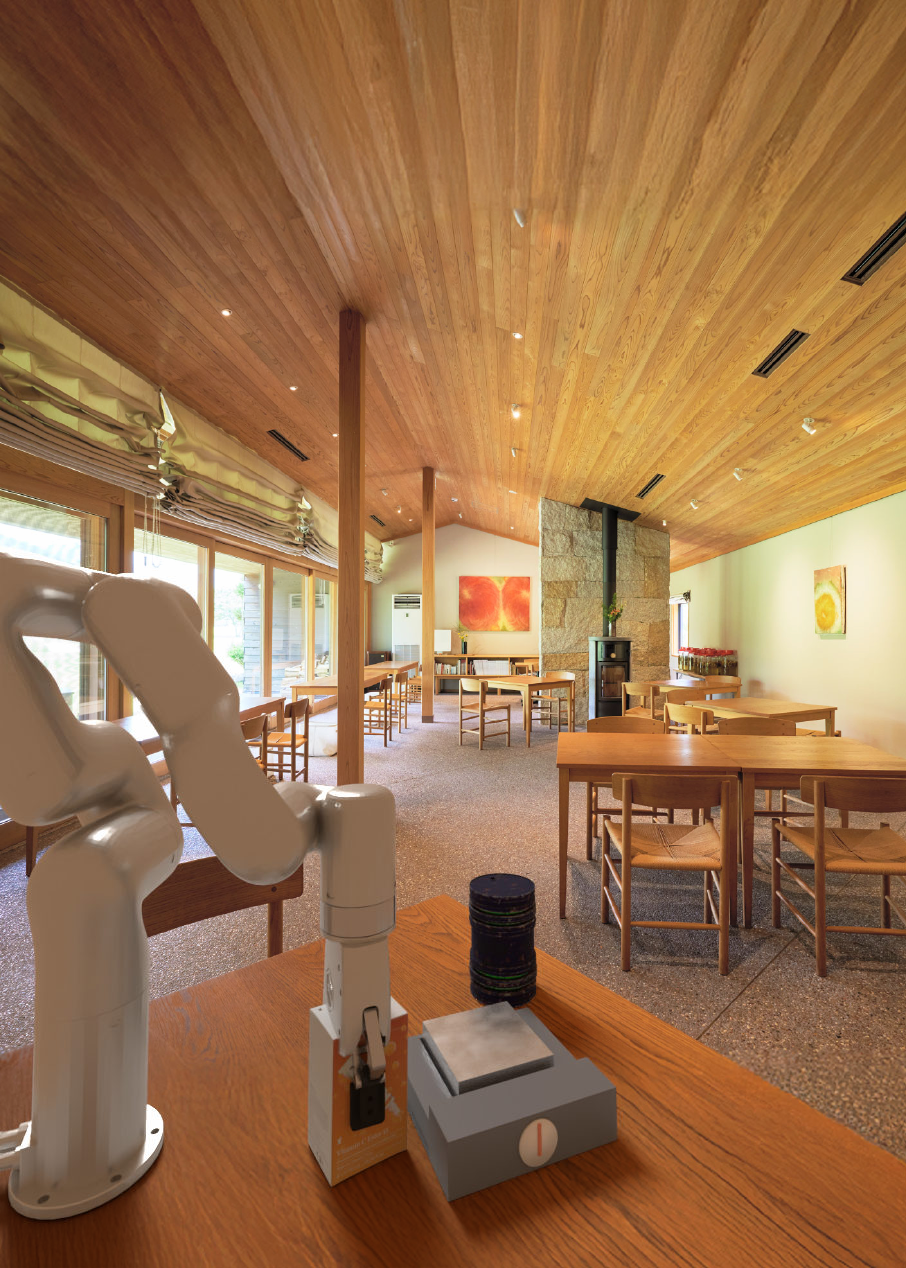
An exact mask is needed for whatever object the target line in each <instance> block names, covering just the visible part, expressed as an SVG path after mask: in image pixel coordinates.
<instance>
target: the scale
mask: <svg viewBox="0 0 906 1268" xmlns="http://www.w3.org/2000/svg"><path fill="white" fill-rule="evenodd" d="M514 1010H515V1011H516V1012H517V1013H518V1015H519V1016H520V1017H521V1018H522V1019H523V1020H524V1021H525V1022H526V1024H527V1025H528V1026H529V1027H530V1028H531V1029H532V1030H533V1032H534V1033H535V1034H536V1035H537V1036H538V1037H539V1038H540V1039H541V1041H542V1042H543V1043H544V1044H545V1045H546V1046H547V1047H548V1049H549V1050H550V1051H551V1052H552V1053H553V1054H554V1067H551V1068H548V1069H545V1070H541V1071H538V1072H535V1073H531V1074H528V1075H524V1076H521V1077H518V1078H514V1079H511V1080H508V1081H504V1082H501V1083H498V1084H494V1085H491V1086H488V1087H484V1088H481V1089H477V1090H474V1091H471V1092H467V1093H464V1094H461V1095H457V1096H454V1097H452V1096H451V1094H450V1092H449V1091H448V1089H447V1087H446V1085H445V1083H444V1082H443V1080H442V1078H441V1076H440V1074H439V1073H438V1071H437V1069H436V1067H435V1065H434V1064H433V1062H432V1060H431V1058H430V1056H429V1055H428V1053H427V1051H426V1049H425V1048H424V1046H423V1033H420V1034H416V1035H412V1036H408V1101H407V1113H408V1114H409V1116H410V1119H411V1120H412V1123H413V1125H414V1127H415V1131H416V1132H417V1135H418V1136H419V1138H420V1140H421V1144H422V1146H423V1148H424V1150H425V1152H426V1154H427V1157H428V1159H429V1161H430V1164H431V1166H432V1168H433V1171H434V1172H435V1175H436V1177H437V1180H438V1182H439V1184H440V1186H441V1189H442V1190H443V1194H444V1195H445V1198H446V1200H447V1202H448V1203H449V1202H452V1201H454V1200H455V1201H456V1200H457V1199H460V1198H462V1197H465V1196H467V1195H468V1196H469V1195H471V1194H473V1193H474V1194H475V1193H476V1192H480V1191H482V1190H484V1189H487V1188H490V1187H493V1186H495V1185H498V1184H501V1183H504V1182H507V1181H508V1180H512V1179H514V1178H517V1177H520V1176H523V1175H525V1174H528V1173H531V1172H534V1171H536V1170H539V1169H542V1168H545V1167H547V1166H550V1165H553V1164H555V1163H559V1162H560V1161H564V1160H566V1159H569V1158H572V1157H574V1156H577V1155H579V1154H580V1155H581V1154H582V1153H585V1152H588V1151H591V1150H593V1149H597V1148H598V1147H601V1146H605V1145H607V1144H610V1143H612V1142H615V1141H617V1140H618V1114H617V1113H618V1109H617V1108H618V1107H617V1106H618V1104H617V1086H616V1085H614V1084H613V1082H612V1081H611V1080H610V1079H609V1078H608V1077H607V1076H606V1075H605V1074H604V1073H603V1072H602V1071H601V1070H600V1069H599V1068H598V1067H597V1066H596V1064H594V1062H593V1061H592V1060H590V1059H589V1057H588V1056H586V1057H582V1058H579V1059H576V1058H575V1056H574V1055H573V1054H572V1053H571V1052H570V1051H569V1050H568V1049H567V1048H566V1047H565V1045H564V1044H563V1043H562V1042H561V1041H560V1040H559V1039H558V1038H557V1037H556V1036H555V1035H554V1034H553V1033H552V1032H551V1031H550V1029H548V1027H547V1026H546V1025H545V1024H544V1023H543V1022H542V1021H541V1020H540V1018H538V1017H537V1016H536V1014H535V1013H533V1011H532V1010H531V1009H530V1008H529V1007H524V1008H519V1009H514Z"/></svg>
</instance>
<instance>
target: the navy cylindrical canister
mask: <svg viewBox="0 0 906 1268" xmlns="http://www.w3.org/2000/svg"><path fill="white" fill-rule="evenodd" d="M468 887H469V890H468V891H469V894H468V895H469V900H468V912H469V915H468V921H469V925H470V933H471V934H470V937H471V939H470V940H471V941H470V944H471V946H470V949H469V963H468V970H469V971H468V972H469V974H470V975H469V978H470V979H469V980H470V985H469V990H470V994H471V996H472V995H473V996H472V997H473V998H474V999H475V1000H476V999H477V1000H476V1001H477V1002H479V1003H481V1004H482V1005H485V1006H488V1005H493V1004H497V1003H501V1002H505V1001H507V1002H508V1003H509V1004H510V1005H511V1007H512V1008H513V1009H514V1008H515V1009H516V1008H520V1007H522V1006H525V1005H524V1004H526V1005H527V1003H528V1004H529V1003H530V1001H531V1000H532V999H533V998H534V997H535V998H536V996H535V995H537V993H536V990H538V989H537V984H536V983H537V976H538V964H537V952H536V951H537V950H536V948H535V928H536V923H537V916H536V914H537V903H536V894H535V893H536V884H535V882H534V881H533V880H532V879H530V878H528V877H526V876H524V875H523V876H522V875H519V874H515V873H509V872H508V873H505V872H494V873H486V874H482V875H478V876H476V877H473V878H472V879H471V880H470V881H469V884H468ZM535 998H534V999H535ZM534 999H533V1000H534ZM533 1000H532V1001H533ZM532 1001H531V1002H532ZM519 1006H520V1007H519Z"/></svg>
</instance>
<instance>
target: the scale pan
mask: <svg viewBox="0 0 906 1268" xmlns="http://www.w3.org/2000/svg"><path fill="white" fill-rule="evenodd" d="M515 1010H516V1009H514V1008H512V1007H511V1005H510V1004H509V1003H508V1002H507V1001H505V1002H501V1003H497V1004H493V1005H485V1006H481V1007H477V1008H473V1009H472V1008H471V1009H468V1010H465V1011H460V1012H456V1013H452V1014H448V1015H443V1016H440V1017H436V1018H431V1019H427V1020H423V1021H422V1034H423V1046H424V1048H425V1049H426V1051H427V1053H428V1055H429V1056H430V1058H431V1060H432V1062H433V1064H434V1065H435V1067H436V1069H437V1071H438V1073H439V1074H440V1076H441V1078H442V1080H443V1082H444V1083H445V1085H446V1087H447V1089H448V1091H449V1092H450V1094H451V1096H452V1097H454V1096H457V1095H461V1094H464V1093H467V1092H471V1091H474V1090H477V1089H481V1088H484V1087H488V1086H491V1085H494V1084H498V1083H501V1082H504V1081H508V1080H511V1079H514V1078H518V1077H521V1076H524V1075H528V1074H531V1073H535V1072H538V1071H541V1070H545V1069H548V1068H551V1067H554V1054H553V1053H552V1052H551V1051H550V1050H549V1049H548V1047H547V1046H546V1045H545V1044H544V1043H543V1042H542V1041H541V1039H540V1038H539V1037H538V1036H537V1035H536V1034H535V1033H534V1032H533V1030H532V1029H531V1028H530V1027H529V1026H528V1025H527V1024H526V1022H525V1021H524V1020H523V1019H522V1018H521V1017H520V1016H519V1015H518V1013H517V1012H516V1011H515Z"/></svg>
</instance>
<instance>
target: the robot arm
mask: <svg viewBox="0 0 906 1268" xmlns="http://www.w3.org/2000/svg"><path fill="white" fill-rule="evenodd" d="M202 630H203V616H202V612H201V609H200V606H199V605H198V602H197V601H196V599H194V597H193V596H192V595H191V594H190V593H189V592H187V591H186V590H185V589H184V588H182V587H180V586H178V585H177V584H176V585H175V583H174V584H173V583H170V582H168V581H167V582H166V581H165V580H161V579H158V578H155V577H153V576H150V575H146V574H142V573H133V572H131V573H130V572H127V573H125V572H124V573H119V574H112V573H108V572H103V571H99V570H98V571H97V570H95V569H94V570H93V569H90V568H85V567H82V566H78V565H74V564H73V565H72V564H70V563H66V562H64V561H59V560H56V559H53V558H49V557H46V556H43V555H40V554H37V553H33V552H29V551H25V550H21V549H18V548H14V547H8V546H3V545H0V808H1V809H2V811H3V812H4V813H5V815H6V816H7V817H8V818H9V819H10V820H12V821H13V822H15V823H17V824H19V825H22V826H27V827H44V826H48V825H49V826H50V825H52V824H56V823H59V822H62V821H64V820H67V819H69V818H72V817H74V816H76V817H77V820H78V821H79V823H80V825H81V827H79V828H77V829H75V830H72V831H71V832H69V833H67V834H66V835H64V836H63V837H61V838H60V839H59V840H57V841H56V842H54V844H52V845H51V846H50V847H48V849H46V851H45V852H44V853H43V854H42V855H41V856H40V857H39V859H38V861H37V862H36V864H35V865H34V867H33V868H32V871H31V873H30V876H29V878H28V881H27V886H26V891H25V892H26V893H25V894H26V896H25V902H26V903H25V904H26V912H27V917H28V918H27V919H28V922H29V927H30V932H31V938H32V946H33V954H34V955H33V956H34V1020H33V1021H34V1023H33V1052H32V1053H33V1057H32V1087H31V1092H32V1093H31V1118H30V1120H28V1121H26V1122H25V1121H24V1122H21V1123H20V1124H19V1126H18V1127H17V1128H14V1129H9V1130H6V1131H0V1172H2V1171H7V1170H10V1169H11V1171H10V1173H9V1179H8V1185H7V1187H8V1190H7V1192H8V1201H9V1202H10V1206H11V1207H12V1208H13V1209H14V1210H15V1211H16V1212H17V1213H18V1214H20V1215H21V1216H25V1217H26V1218H30V1219H36V1220H56V1219H57V1220H59V1219H62V1218H69V1217H73V1216H76V1215H80V1214H82V1213H85V1212H88V1211H91V1210H93V1209H95V1208H97V1207H100V1206H102V1205H104V1204H105V1203H107V1202H109V1201H111V1200H113V1199H114V1198H117V1196H119V1195H121V1194H122V1193H123V1192H124V1191H126V1190H128V1189H130V1188H131V1186H132V1185H134V1184H135V1183H136V1182H137V1181H138V1180H139V1179H140V1178H142V1176H144V1175H145V1174H146V1173H147V1171H148V1170H149V1168H151V1167H152V1166H153V1163H154V1162H155V1160H156V1159H157V1158H158V1156H159V1155H160V1151H161V1150H162V1146H163V1144H164V1138H165V1137H164V1136H165V1135H164V1134H165V1131H164V1130H165V1124H164V1120H163V1116H162V1115H161V1113H160V1112H159V1111H158V1110H157V1109H155V1108H154V1107H153V1106H151V1105H150V1104H148V1081H149V1080H148V1077H149V1076H148V1075H149V1033H150V1032H149V1025H150V1021H149V1020H150V968H151V967H150V965H151V963H150V959H151V958H150V947H149V940H148V935H147V932H146V931H147V930H146V928H145V924H144V919H143V913H142V909H143V908H142V907H143V906H142V904H143V901H144V900H145V898H147V897H148V896H149V895H150V894H151V893H152V892H153V891H154V890H156V888H158V887H159V886H160V885H161V884H163V882H165V881H166V880H167V879H168V878H169V877H170V876H171V875H172V874H173V873H174V871H175V870H176V869H177V866H178V865H179V863H180V861H181V859H182V856H183V852H184V848H185V847H184V846H185V838H184V831H183V828H182V824H181V822H180V819H179V817H178V814H177V813H176V811H175V809H174V807H173V805H172V803H171V800H170V799H169V797H168V795H167V793H166V791H165V789H164V787H163V785H162V783H161V782H160V779H159V778H158V775H157V774H156V772H155V770H154V768H153V766H152V764H151V762H150V760H149V759H148V757H147V755H146V752H145V751H144V749H143V747H142V746H141V745H140V743H139V741H138V740H137V739H136V738H135V737H134V735H132V734H131V733H130V732H129V731H128V730H127V729H125V728H124V727H122V726H120V725H119V724H116V723H114V722H111V721H108V720H102V719H85V720H78V718H77V717H76V716H75V714H74V713H73V711H72V710H71V709H70V706H69V704H68V703H67V700H66V699H65V698H64V696H63V693H62V691H61V689H60V686H59V685H58V683H57V681H56V679H55V677H54V676H53V675H52V673H51V672H50V671H49V669H48V668H47V666H45V665H44V663H42V661H41V660H40V659H39V658H38V657H37V656H36V655H35V654H34V653H33V652H32V651H31V650H30V649H29V647H28V646H27V644H26V642H25V640H24V638H23V637H31V638H32V637H33V638H43V639H44V638H46V639H47V638H48V639H57V640H63V641H64V640H65V641H71V642H77V643H82V644H87V645H93V646H95V648H96V649H97V650H98V651H99V653H100V654H101V655H102V657H103V659H104V660H105V661H106V663H108V665H109V667H110V668H111V669H112V671H113V672H114V674H115V675H116V676H117V677H118V679H119V680H120V681H121V683H122V684H123V686H124V687H125V688H126V690H127V691H128V693H129V694H130V695H131V697H132V698H133V700H134V702H135V703H136V704H137V705H138V707H139V708H140V709H141V711H142V713H143V714H144V715H145V717H146V718H147V720H148V721H149V723H150V724H151V725H152V726H153V728H154V730H155V731H156V733H157V734H158V736H159V739H160V742H161V748H162V754H163V759H164V761H165V765H166V767H167V770H168V774H169V777H170V779H171V783H172V787H173V788H174V791H175V794H176V796H177V798H178V801H179V803H180V805H181V807H182V809H183V811H184V813H185V815H186V816H187V817H188V819H189V820H190V822H191V824H192V825H193V826H194V827H195V828H196V830H197V832H198V833H199V834H200V836H201V837H202V839H203V841H205V843H206V844H207V846H208V848H210V850H211V851H212V853H213V854H214V856H216V858H217V859H218V860H219V861H220V862H221V863H222V864H223V866H224V867H225V868H226V869H227V870H228V871H229V872H231V873H232V875H234V876H235V877H236V878H238V879H241V880H242V881H244V882H246V883H249V884H252V885H258V886H267V885H269V886H270V885H275V884H277V883H280V882H283V881H284V880H285V879H288V878H289V877H290V876H292V875H293V874H294V873H295V872H297V870H298V869H299V867H300V866H301V865H302V864H303V863H304V861H305V860H306V858H307V856H308V855H309V854H311V853H313V852H316V853H317V854H319V858H320V859H319V860H320V861H319V863H320V865H319V867H320V868H319V869H320V870H319V872H320V873H319V876H320V878H319V881H320V882H319V884H320V885H319V887H320V888H319V890H320V891H319V932H320V935H321V936H322V938H324V939H325V945H324V963H323V964H324V965H323V966H324V967H323V985H322V986H323V991H322V1005H323V1004H326V1007H327V1010H328V1013H329V1016H330V1019H331V1022H332V1025H333V1027H334V1030H335V1033H336V1035H337V1038H338V1054H339V1055H340V1056H342V1057H346V1056H347V1055H351V1054H352V1069H353V1082H352V1083H350V1127H351V1130H352V1131H357V1130H361V1129H364V1128H367V1127H370V1126H374V1125H377V1124H380V1123H382V1122H384V1120H385V1067H386V1061H385V1055H384V1049H383V1047H386V1045H387V1044H388V1042H389V1040H390V1031H391V996H392V995H391V971H390V970H391V968H390V953H389V951H390V950H389V940H388V939H389V937H388V936H389V935H391V934H392V932H394V931H395V929H396V926H397V922H396V921H397V912H396V911H397V892H396V891H397V889H396V888H397V881H396V879H397V878H396V877H397V876H396V875H397V873H396V869H397V866H396V865H397V864H396V861H397V859H396V857H397V850H396V849H397V846H396V845H397V841H396V832H397V831H396V828H397V825H396V822H397V821H396V818H397V817H396V808H397V807H396V799H395V795H394V793H393V792H392V790H391V789H390V788H388V787H386V786H383V785H380V784H376V783H375V784H374V783H351V784H350V783H349V784H343V785H337V786H336V785H329V784H328V785H327V784H318V783H312V782H306V781H305V782H304V781H294V780H293V781H292V780H291V781H290V780H288V781H282V782H277V783H275V784H273V783H272V782H271V780H270V779H269V778H268V777H267V776H266V773H265V772H264V771H263V769H262V768H261V766H260V765H259V763H258V761H257V760H256V758H255V756H254V755H253V753H252V750H251V748H250V747H249V745H248V742H247V741H246V738H245V735H244V732H243V728H242V723H241V718H240V717H241V716H240V711H241V706H240V704H241V703H240V702H241V697H240V692H239V689H238V686H237V684H236V682H235V681H234V679H233V677H232V676H231V675H230V674H229V672H228V670H227V669H226V668H225V667H224V665H223V664H222V663H221V661H220V660H219V659H218V657H217V656H216V655H215V652H213V650H212V649H211V648H210V646H209V645H208V644H207V642H206V641H205V639H204V638H203V636H202V635H201V633H202ZM361 1034H362V1035H365V1041H366V1044H365V1045H361V1046H358V1047H357V1044H358V1042H359V1039H360V1036H361ZM363 1053H367V1054H368V1060H367V1065H364V1066H363V1068H362V1069H360V1058H359V1054H363Z"/></svg>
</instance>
